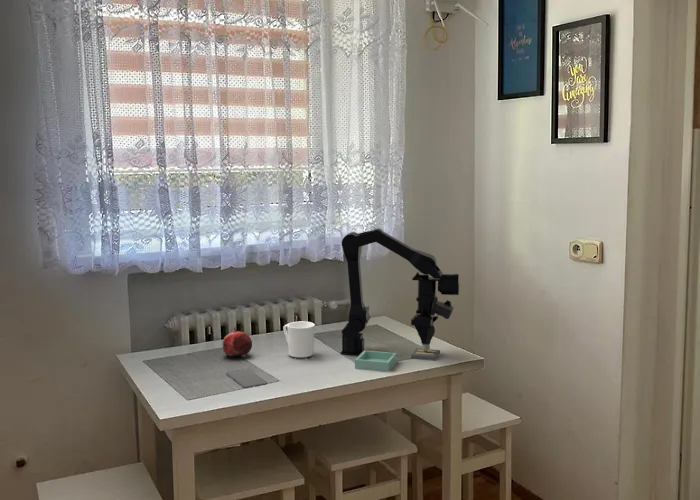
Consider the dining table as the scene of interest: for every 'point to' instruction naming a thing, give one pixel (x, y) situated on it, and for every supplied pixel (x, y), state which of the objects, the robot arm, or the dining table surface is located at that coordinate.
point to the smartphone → (246, 378)
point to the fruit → (237, 343)
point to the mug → (300, 339)
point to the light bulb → (428, 339)
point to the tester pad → (425, 354)
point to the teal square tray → (375, 360)
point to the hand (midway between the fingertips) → (425, 341)
